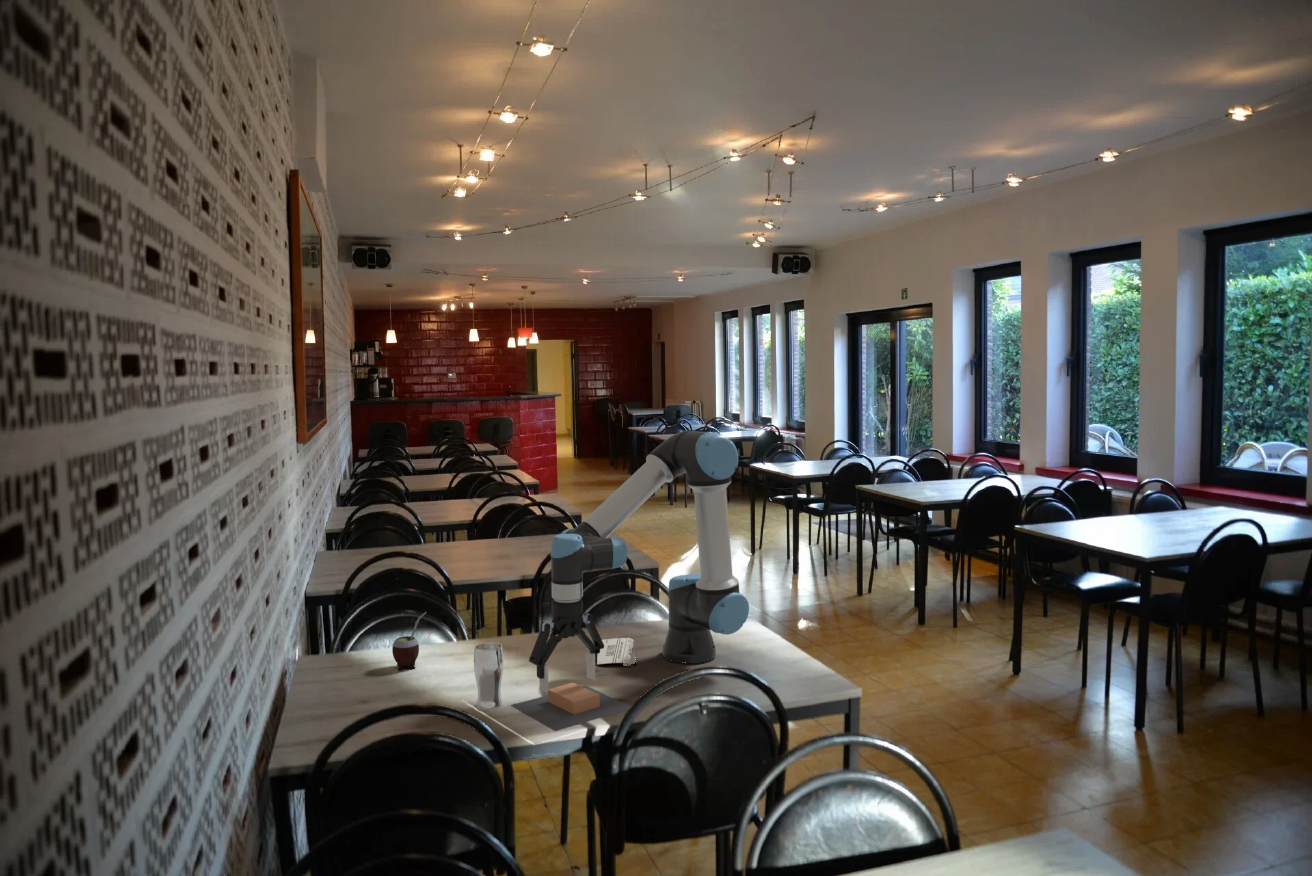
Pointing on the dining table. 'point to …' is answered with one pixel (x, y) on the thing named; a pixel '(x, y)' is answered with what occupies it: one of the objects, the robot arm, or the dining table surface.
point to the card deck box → (573, 698)
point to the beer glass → (488, 674)
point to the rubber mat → (564, 719)
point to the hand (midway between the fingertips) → (567, 684)
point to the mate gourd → (406, 650)
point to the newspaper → (616, 651)
